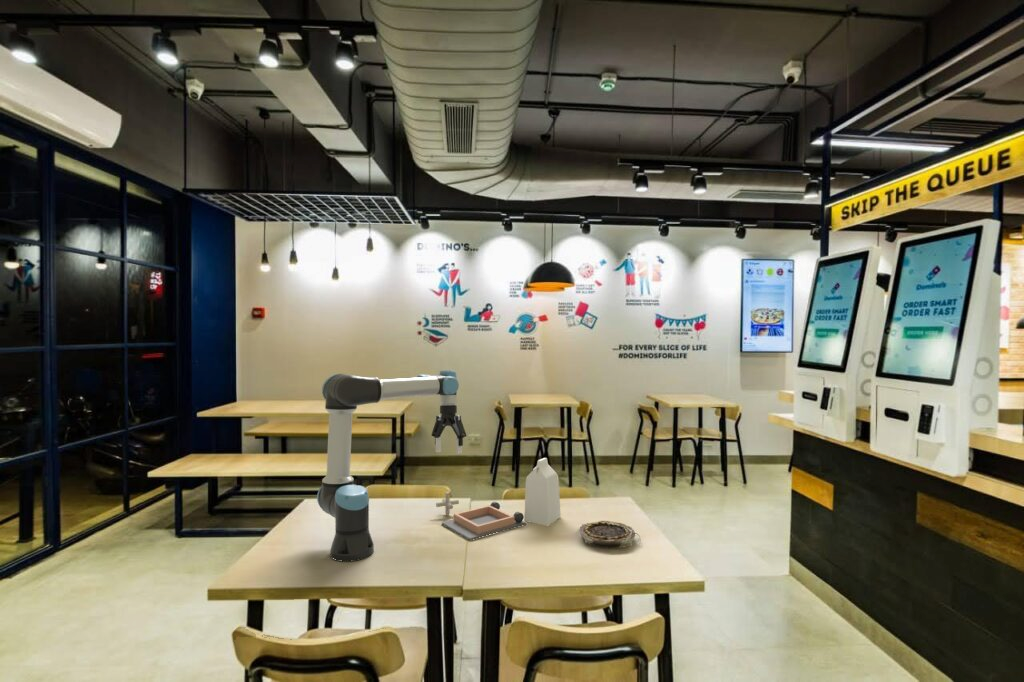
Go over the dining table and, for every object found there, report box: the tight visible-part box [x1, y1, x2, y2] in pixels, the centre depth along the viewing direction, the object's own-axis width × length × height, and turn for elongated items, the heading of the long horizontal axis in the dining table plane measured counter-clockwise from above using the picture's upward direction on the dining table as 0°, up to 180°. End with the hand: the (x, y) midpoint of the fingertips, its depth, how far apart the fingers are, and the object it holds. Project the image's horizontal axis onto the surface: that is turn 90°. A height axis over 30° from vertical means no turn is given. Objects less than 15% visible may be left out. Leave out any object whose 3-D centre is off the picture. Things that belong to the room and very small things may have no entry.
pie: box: [578, 520, 643, 549], centre depth 197 cm, size 28×27×5 cm
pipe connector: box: [435, 491, 460, 516], centre depth 225 cm, size 10×10×10 cm
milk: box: [523, 457, 562, 527], centre depth 219 cm, size 12×12×26 cm
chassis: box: [441, 501, 527, 541], centre depth 212 cm, size 28×22×5 cm
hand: (448, 453), depth 224 cm, fingers open, 13 cm apart
